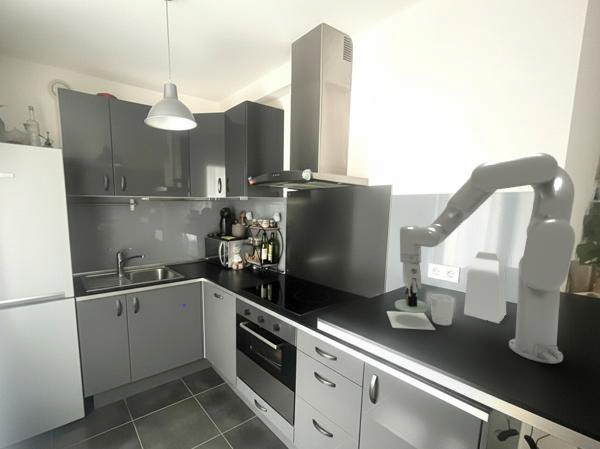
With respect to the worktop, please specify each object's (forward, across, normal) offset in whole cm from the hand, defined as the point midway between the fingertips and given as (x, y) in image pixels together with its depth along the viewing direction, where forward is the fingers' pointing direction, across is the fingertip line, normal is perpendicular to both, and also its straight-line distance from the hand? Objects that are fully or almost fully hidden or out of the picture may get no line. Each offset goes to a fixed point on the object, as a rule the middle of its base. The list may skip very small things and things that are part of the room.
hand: (411, 303), depth 106 cm
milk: (+8, +10, -31) cm, 34 cm away
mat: (+7, 0, +1) cm, 7 cm away
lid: (+1, 0, 0) cm, 1 cm away
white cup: (+8, 0, -11) cm, 14 cm away
